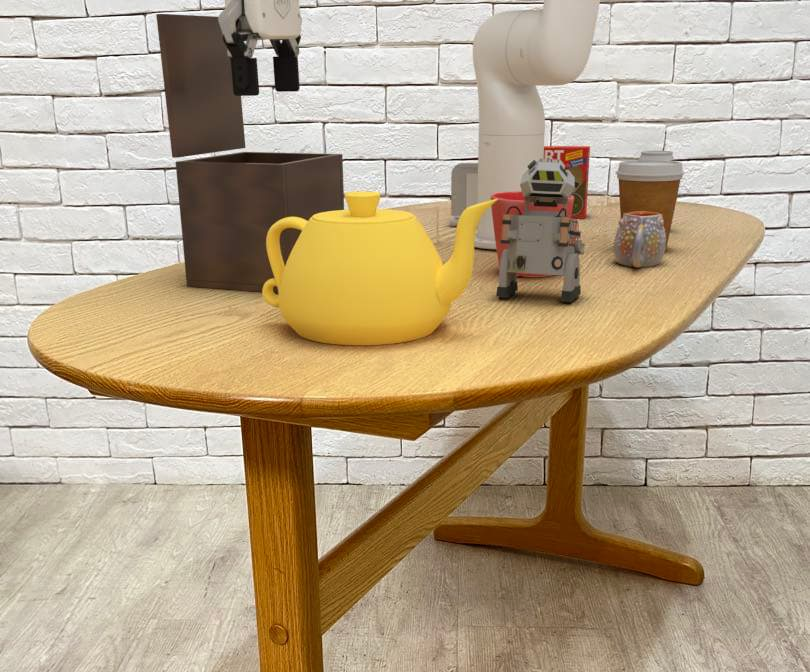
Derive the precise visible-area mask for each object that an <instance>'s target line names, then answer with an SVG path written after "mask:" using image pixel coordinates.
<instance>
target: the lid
mask: <svg viewBox="0 0 810 672" xmlns="http://www.w3.org/2000/svg"><path fill="white" fill-rule="evenodd" d="M155 16H156V25H157V35H158V42H159V51H160V60H161V70H162V79H163V87H164V95H165V96H164V97H165V104H166V105H165V106H166V114H167V124H168V133H169V143H170V150H171V158H174V159H176V158H177V159H178V158H184V157H185V158H186V157H191V156H197V155H198V156H199V155H207V154H214V153H219V152H220V153H221V152H227V151H233V150H234V151H235V150H241V149H246V137H245V125H244V115H243V114H244V113H243V101H242V96H235V95H234V93H233V82H232V71H231V59H230V58H229V57H228V55H227V50H228V48H227V47H226V45H225V43H224V41H223V33H222V31H221V28H220V25H219V22H218V16H211V15H193V14H192V15H191V14H176V13H175V14H174V13H173V14H171V13H156V15H155Z"/></svg>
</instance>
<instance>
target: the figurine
mask: <svg viewBox="0 0 810 672" xmlns="http://www.w3.org/2000/svg"><path fill="white" fill-rule="evenodd" d="M527 167H528V168H529V169H528V170H527V171H526V172H525V173H524V174H523V175H522V179H521V182H520V187H521V191H522V194H523V196H525V199H524V200H525V203H526V211H524V215H523V214H521V212H520V210H519V208H518V207H516V206H512V207H510V208H509V209H508V211H507V213H505V214H503V220H502V224H503V225H502V237H501V242H500V243H503V244H509V247H508V249H504V250H503V253H502V256H501V261H500V269H499V268H498V269H499V271H498V284H497V285H498V286H497V287H496V294H495V296H496V297H498V300H508V299H510V298H511V297H513V296H515V295H516V293H517V291H518V290H519V287H518V286H519V285H518V281H517V276H516V273H530V274H546V275H552V276H563V282H562V284H563V285H562V290H561V294H560V301H562V303H564V304H572V303H574V301H575V300H577V299H579V297H580V295H581V288H582V287H581V286H582V285H581V284H580V278H581V264H580V255H585V247H586V244H585V243H583V242H582V239H581V234H582V230H580V225H579V221H578V219H573V218H570V217H568V216H566V209H565V204H566V205H568V204H567V202H568V198H570V196H571V194H572V191H573V189H574V187H576V188H577V187H578V185H579V183H577V182H575V177H574V176H573V175H572V174H571V172H570V171H569V169H570V168H571V166H570V164H566V165H564V164H563V162H562V161H561V160H560V159H539V160H538V161H537V162H536V161H535V160H533V161H532V162H531V163H530V164H529V165H528V166H527ZM529 202H534V206H544V207H557V204H563V208H562V209H561V210H560V212H553V211H534V210H528V209H529ZM511 208H516V209H517V210H518V211H519V214H517V215H510V214H508V213H509V210H510V209H511Z"/></svg>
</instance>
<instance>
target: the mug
mask: <svg viewBox="0 0 810 672" xmlns="http://www.w3.org/2000/svg"><path fill="white" fill-rule="evenodd" d="M662 217H663V215H662V214H659V213H654V212H646V211H635V212H630V213H624V214H623V217H622V219H621V218H620V219H619V221H618V225H619V227H618V228H617V231H616V233H615V238H614V242H613V246H612V247H613V248H612V250H613V257H614V260H615V262H616V263H617V264H619V265H622V266H626V267H631V268H632V267H633V268H635V269H639V268H644V267H645V268H647V267H654V266H657V265H659V264H660V263H661V261H662V260H663V258H664V256H665V252H666V251H665V247H666V234H665V229H664V226H663V225H664V221H663V218H662Z"/></svg>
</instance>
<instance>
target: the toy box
mask: <svg viewBox="0 0 810 672" xmlns="http://www.w3.org/2000/svg"><path fill="white" fill-rule="evenodd" d="M590 153H591V146H590V145H588V146H587V145H585V146H584V145H575V146H574V145H544V159H560V160H561V161H562V162H563V164H564V165H566V164H570V166H571V168H570V169H569V171H570V172H571V174H572V175H573V176H574V177H575V182H577V183H579V185H578V187H577V188H576V187H574V189H573V191H572V194H571V195H573V196H574V203H573V209H572V214H571V219H575V220H578V219H579V220H581V219H582V220H584V219H585V218H586V217H587V210H588V209H587V208H588V194H589V193H588V191H589V174H590V173H589V172H590V157H591V156H590Z"/></svg>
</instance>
